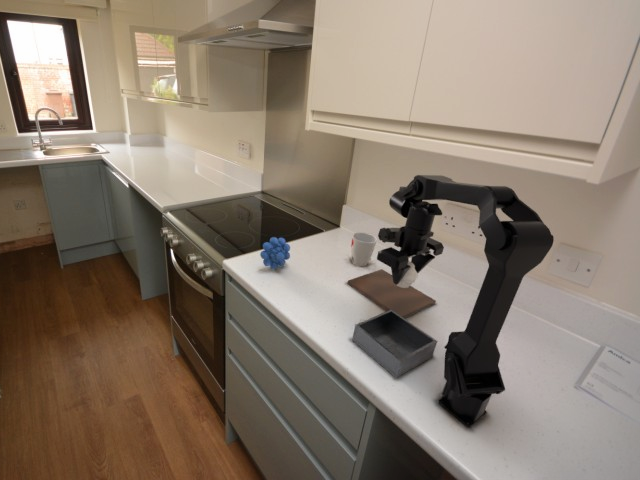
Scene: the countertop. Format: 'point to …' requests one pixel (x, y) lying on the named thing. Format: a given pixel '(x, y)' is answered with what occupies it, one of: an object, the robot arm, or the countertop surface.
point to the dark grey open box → (394, 342)
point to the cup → (362, 248)
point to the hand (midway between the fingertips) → (403, 280)
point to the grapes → (275, 252)
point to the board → (391, 293)
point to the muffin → (408, 277)
